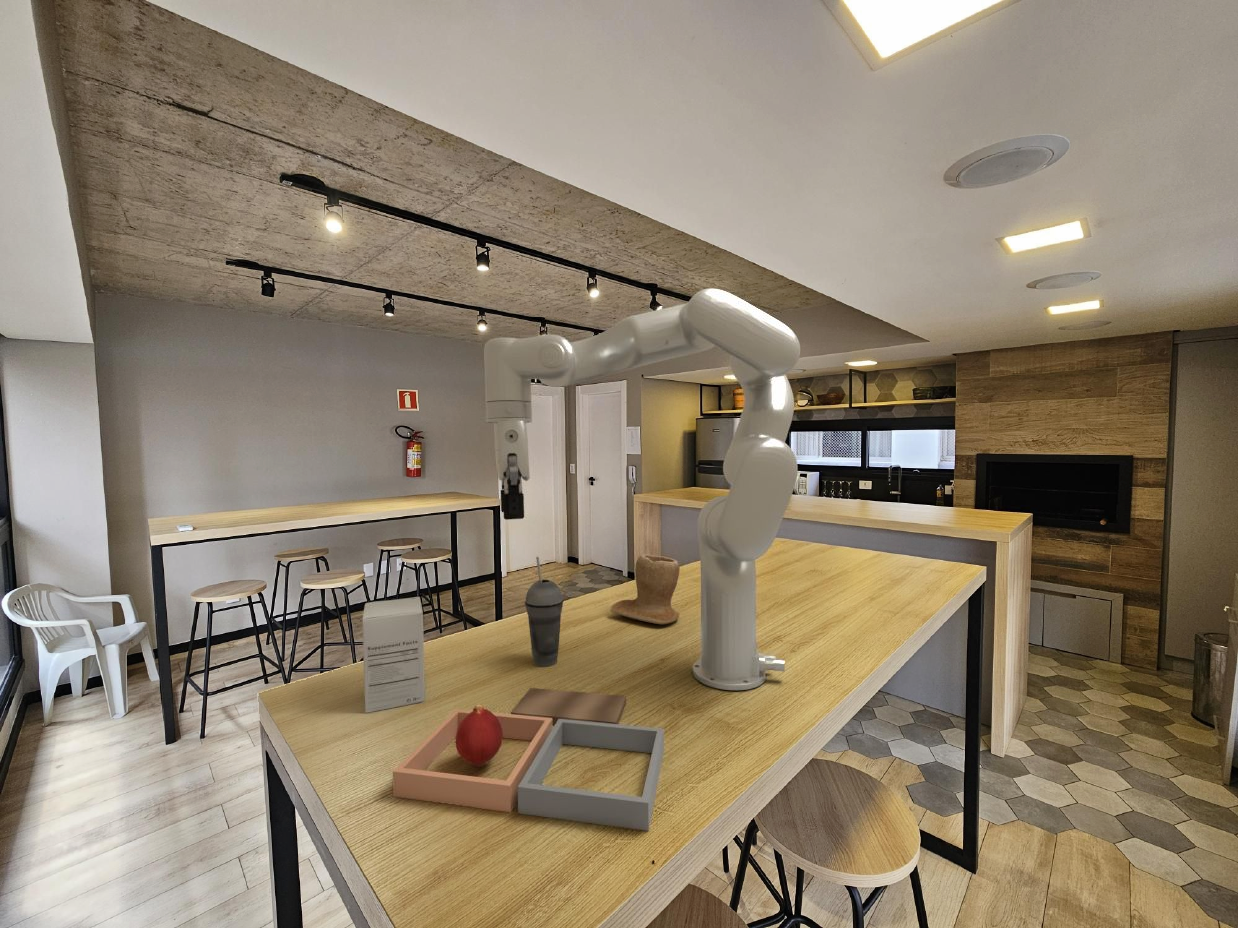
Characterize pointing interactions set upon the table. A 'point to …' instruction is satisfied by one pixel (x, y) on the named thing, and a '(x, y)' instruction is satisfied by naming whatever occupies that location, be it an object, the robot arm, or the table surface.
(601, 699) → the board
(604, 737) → the frame
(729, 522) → the robot arm
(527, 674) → the table surface
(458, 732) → the onion
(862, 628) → the table surface
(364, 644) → the supplement box
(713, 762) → the table surface
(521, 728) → the terracotta crate
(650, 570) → the brown boot-shaped piece
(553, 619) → the beverage cup
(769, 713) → the table surface
